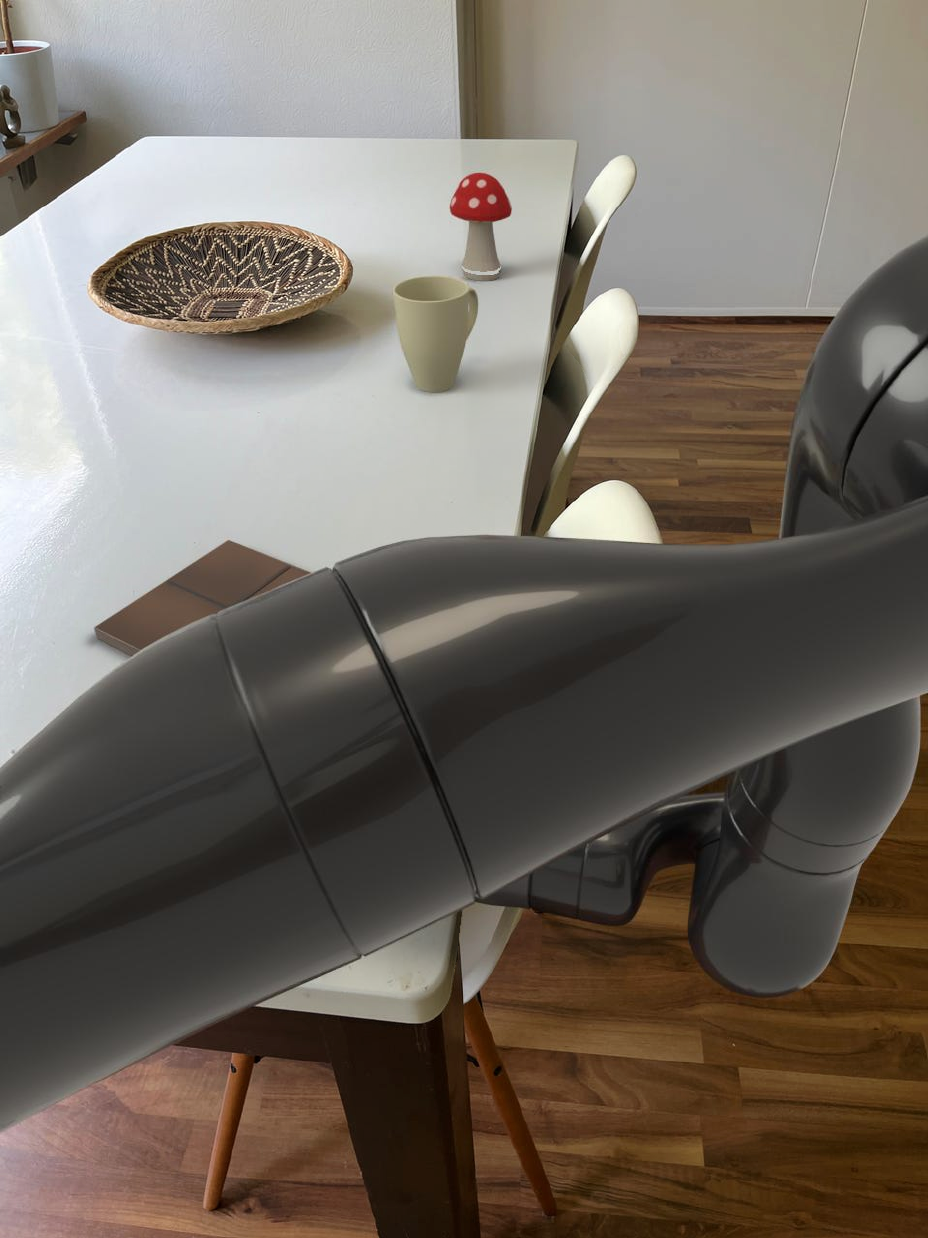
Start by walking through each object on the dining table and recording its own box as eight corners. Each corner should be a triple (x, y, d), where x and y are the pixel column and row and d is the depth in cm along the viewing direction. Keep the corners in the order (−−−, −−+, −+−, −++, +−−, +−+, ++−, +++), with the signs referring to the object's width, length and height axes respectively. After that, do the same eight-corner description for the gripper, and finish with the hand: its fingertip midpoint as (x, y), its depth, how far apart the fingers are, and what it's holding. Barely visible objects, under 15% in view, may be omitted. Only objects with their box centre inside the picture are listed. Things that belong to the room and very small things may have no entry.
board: (233, 707, 77) (230, 694, 76) (96, 638, 84) (92, 626, 83) (362, 603, 87) (360, 590, 86) (230, 549, 94) (228, 537, 93)
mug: (478, 399, 119) (476, 300, 112) (396, 399, 120) (389, 302, 112) (479, 362, 128) (477, 269, 121) (402, 363, 128) (397, 270, 121)
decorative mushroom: (523, 274, 155) (524, 172, 146) (487, 289, 150) (486, 184, 141) (475, 261, 160) (474, 162, 151) (439, 275, 155) (435, 173, 146)
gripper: (495, 701, 60) (239, 657, 64) (424, 888, 49) (121, 821, 53) (495, 786, 65) (257, 740, 68) (431, 975, 54) (151, 908, 58)
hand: (199, 776), depth 61 cm, fingers closed on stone, 4 cm apart
